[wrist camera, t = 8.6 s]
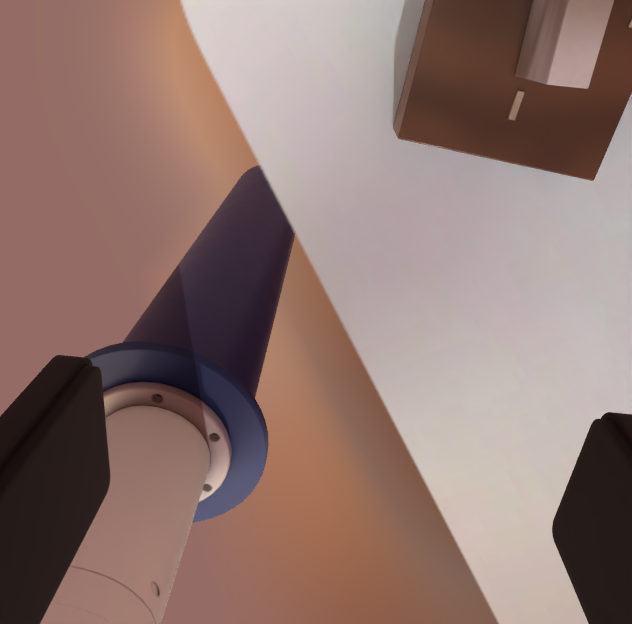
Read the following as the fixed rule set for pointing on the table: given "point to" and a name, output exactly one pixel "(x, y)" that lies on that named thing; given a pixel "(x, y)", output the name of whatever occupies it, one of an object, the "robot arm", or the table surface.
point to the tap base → (510, 90)
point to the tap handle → (563, 41)
